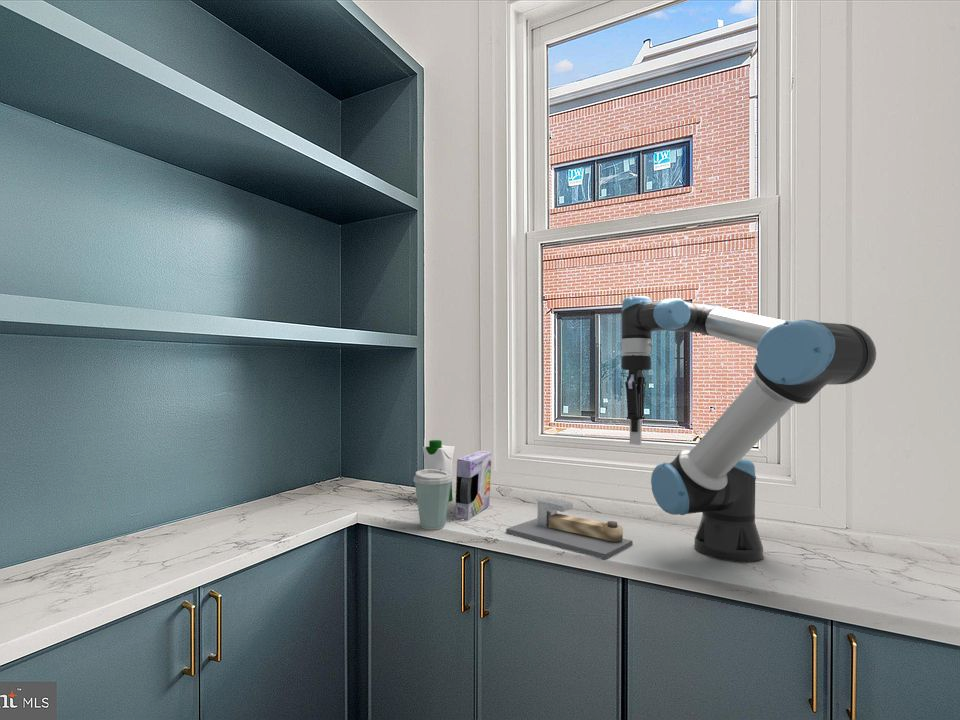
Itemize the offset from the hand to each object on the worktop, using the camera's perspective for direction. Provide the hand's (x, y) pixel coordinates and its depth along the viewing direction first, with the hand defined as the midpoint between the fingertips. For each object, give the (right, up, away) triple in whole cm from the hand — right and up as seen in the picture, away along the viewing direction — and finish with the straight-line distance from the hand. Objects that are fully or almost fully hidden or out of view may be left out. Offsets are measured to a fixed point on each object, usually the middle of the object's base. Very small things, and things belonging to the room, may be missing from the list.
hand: (635, 444), depth 142 cm
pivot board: (-19, -24, -4) cm, 31 cm away
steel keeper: (-21, -24, +3) cm, 32 cm away
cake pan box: (-43, -24, +20) cm, 54 cm away
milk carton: (-55, -24, +34) cm, 69 cm away
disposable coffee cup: (-54, -24, +4) cm, 59 cm away
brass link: (-14, -22, -3) cm, 27 cm away
